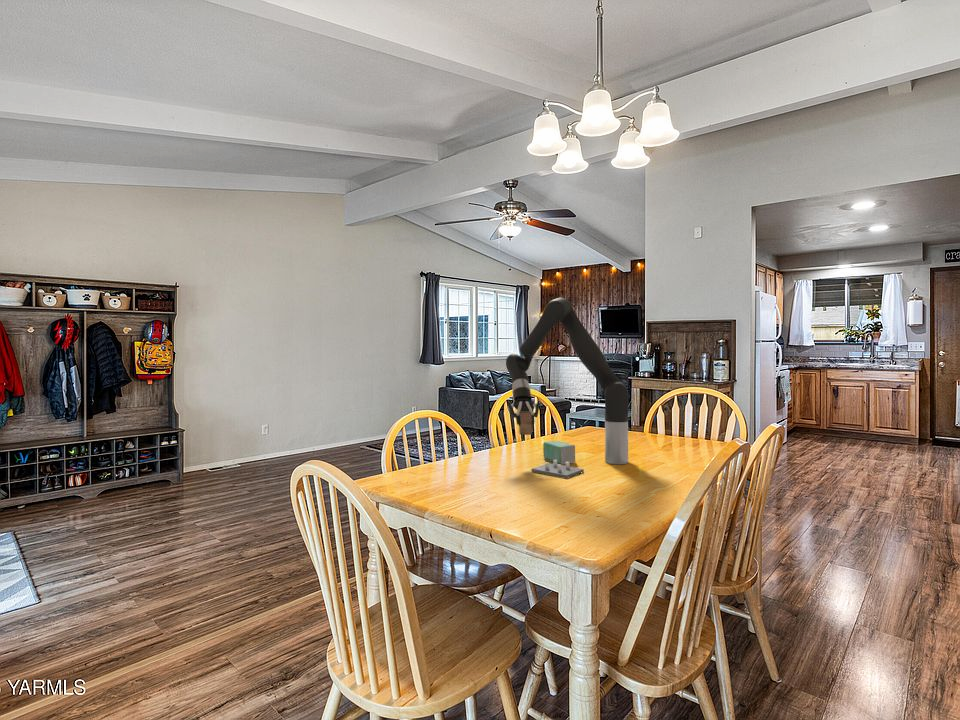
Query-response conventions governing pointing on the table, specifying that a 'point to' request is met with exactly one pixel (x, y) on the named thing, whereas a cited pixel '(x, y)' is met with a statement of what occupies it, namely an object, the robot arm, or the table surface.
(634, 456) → the table surface
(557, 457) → the box
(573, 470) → the peg plate
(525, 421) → the post
